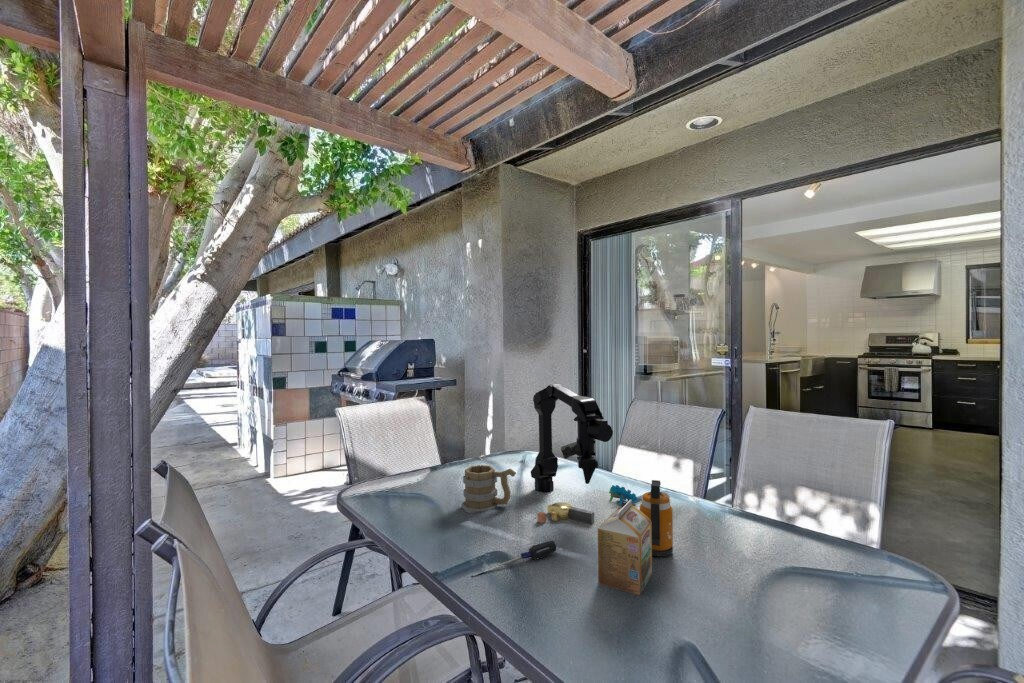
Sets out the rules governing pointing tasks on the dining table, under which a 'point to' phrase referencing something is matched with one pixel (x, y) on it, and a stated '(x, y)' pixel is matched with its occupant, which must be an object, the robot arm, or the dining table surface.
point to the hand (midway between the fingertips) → (586, 481)
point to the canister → (659, 519)
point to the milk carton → (625, 550)
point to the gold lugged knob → (570, 513)
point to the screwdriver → (536, 552)
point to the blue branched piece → (621, 494)
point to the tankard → (484, 488)
